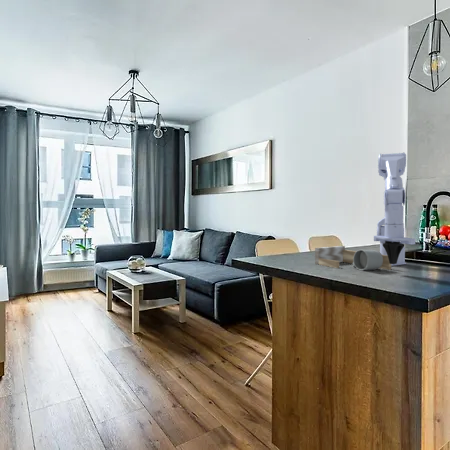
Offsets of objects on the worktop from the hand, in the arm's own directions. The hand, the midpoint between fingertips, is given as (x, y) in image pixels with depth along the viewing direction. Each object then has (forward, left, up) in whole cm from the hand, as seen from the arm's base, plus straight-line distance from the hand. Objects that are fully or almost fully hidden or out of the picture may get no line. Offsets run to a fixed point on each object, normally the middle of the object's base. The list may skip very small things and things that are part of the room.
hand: (393, 263), depth 124 cm
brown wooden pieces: (0, -18, -4) cm, 18 cm away
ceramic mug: (0, -12, -4) cm, 12 cm away
